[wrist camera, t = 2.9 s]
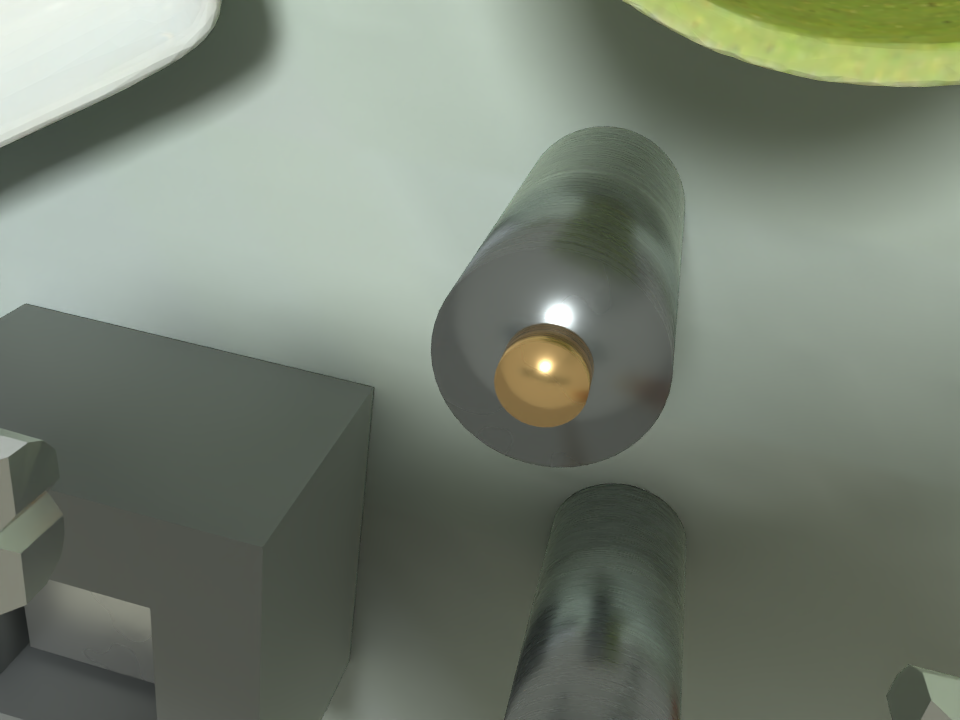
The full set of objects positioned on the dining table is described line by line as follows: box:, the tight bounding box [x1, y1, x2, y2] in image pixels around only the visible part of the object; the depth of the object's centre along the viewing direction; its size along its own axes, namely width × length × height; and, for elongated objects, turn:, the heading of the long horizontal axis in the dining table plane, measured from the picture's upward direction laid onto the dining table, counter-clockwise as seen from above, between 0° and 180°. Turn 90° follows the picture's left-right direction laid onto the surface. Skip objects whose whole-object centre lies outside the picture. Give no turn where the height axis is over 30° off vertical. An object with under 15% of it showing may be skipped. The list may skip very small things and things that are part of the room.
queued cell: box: [504, 484, 686, 720], centre depth 18 cm, size 3×3×8 cm
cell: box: [431, 127, 685, 467], centre depth 14 cm, size 3×3×8 cm
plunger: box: [24, 580, 155, 683], centre depth 20 cm, size 4×4×1 cm
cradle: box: [0, 304, 374, 720], centre depth 21 cm, size 9×10×6 cm
